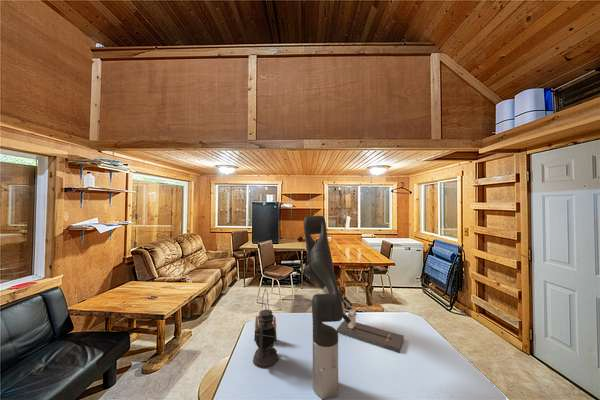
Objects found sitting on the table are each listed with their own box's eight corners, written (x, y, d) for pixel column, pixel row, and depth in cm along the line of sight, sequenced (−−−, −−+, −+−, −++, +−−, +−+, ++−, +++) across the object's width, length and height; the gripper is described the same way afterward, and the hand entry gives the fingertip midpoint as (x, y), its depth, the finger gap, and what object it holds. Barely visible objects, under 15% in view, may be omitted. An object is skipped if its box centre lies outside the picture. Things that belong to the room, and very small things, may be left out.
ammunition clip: (276, 339, 113) (276, 315, 113) (276, 342, 111) (276, 316, 111) (255, 339, 114) (255, 314, 114) (254, 341, 112) (254, 316, 112)
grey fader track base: (336, 332, 119) (336, 328, 119) (345, 322, 129) (345, 319, 129) (399, 353, 103) (399, 348, 103) (403, 339, 113) (403, 335, 113)
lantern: (272, 371, 91) (273, 295, 92) (247, 367, 93) (248, 293, 94) (281, 351, 103) (281, 284, 104) (259, 348, 106) (259, 283, 106)
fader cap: (348, 327, 120) (348, 311, 120) (351, 323, 123) (350, 308, 123) (353, 328, 118) (352, 313, 118) (355, 325, 122) (355, 310, 122)
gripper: (331, 292, 119) (352, 321, 113) (341, 284, 131) (361, 309, 125) (322, 300, 122) (342, 329, 116) (333, 292, 134) (352, 317, 128)
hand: (352, 319), depth 120 cm, fingers open, 8 cm apart
